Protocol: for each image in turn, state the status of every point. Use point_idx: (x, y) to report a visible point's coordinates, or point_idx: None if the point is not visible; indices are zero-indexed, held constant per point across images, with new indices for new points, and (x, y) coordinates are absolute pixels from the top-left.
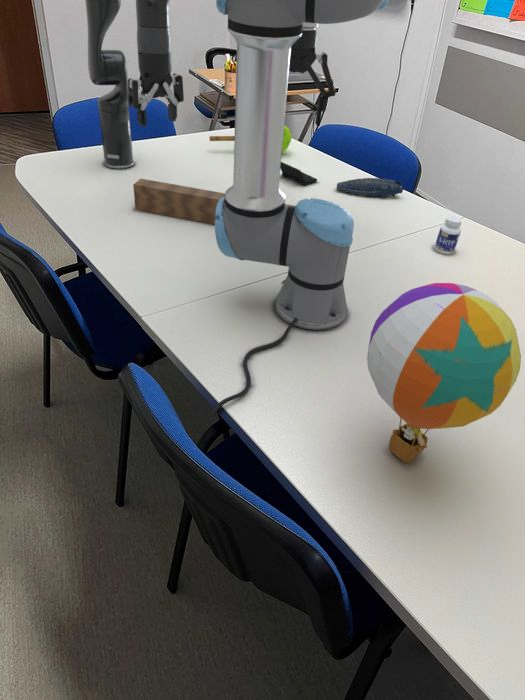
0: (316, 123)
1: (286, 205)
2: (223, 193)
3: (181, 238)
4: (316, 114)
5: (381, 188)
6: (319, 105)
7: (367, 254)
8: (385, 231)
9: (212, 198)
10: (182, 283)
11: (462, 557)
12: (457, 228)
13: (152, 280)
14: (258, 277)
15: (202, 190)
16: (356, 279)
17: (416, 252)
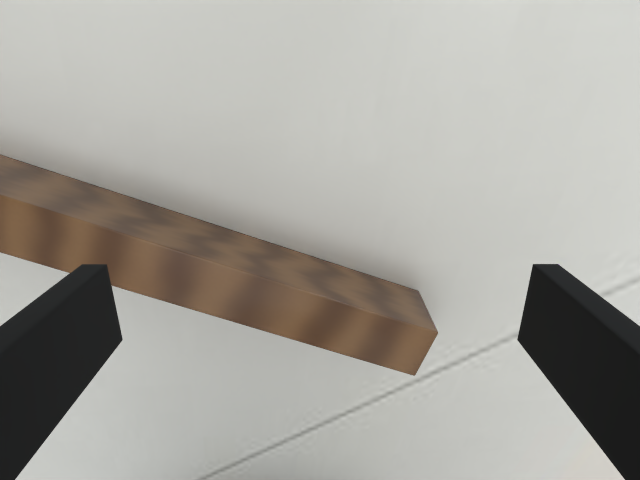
0: (527, 325)
1: (311, 302)
2: (93, 228)
3: None
4: (572, 311)
5: None
6: (623, 474)
7: (502, 365)
8: (614, 248)
9: (64, 270)
10: (100, 470)
11: None
12: None
13: (43, 464)
14: (240, 451)
15: (13, 209)
16: (436, 451)
17: None
